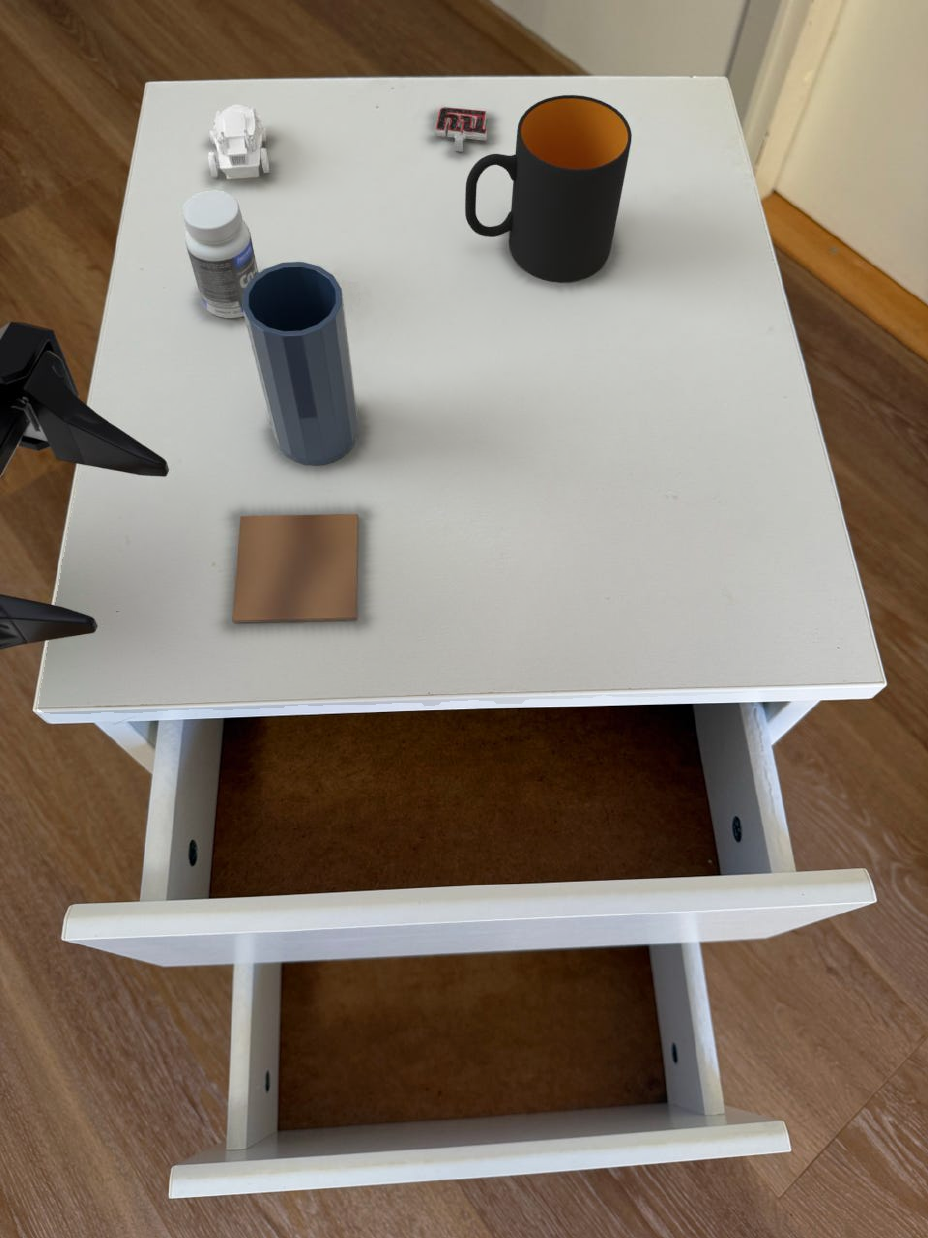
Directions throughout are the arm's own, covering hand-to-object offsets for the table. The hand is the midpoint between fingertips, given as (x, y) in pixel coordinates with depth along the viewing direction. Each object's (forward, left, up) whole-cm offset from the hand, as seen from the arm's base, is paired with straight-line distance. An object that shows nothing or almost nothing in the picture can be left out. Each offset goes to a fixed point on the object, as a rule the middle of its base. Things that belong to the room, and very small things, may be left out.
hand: (132, 543), depth 48 cm
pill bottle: (-11, +30, -16) cm, 36 cm away
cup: (0, +20, -16) cm, 26 cm away
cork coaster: (+3, +9, -16) cm, 19 cm away
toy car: (-17, +45, -16) cm, 51 cm away
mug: (+10, +43, -16) cm, 47 cm away
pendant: (0, +54, -16) cm, 56 cm away
